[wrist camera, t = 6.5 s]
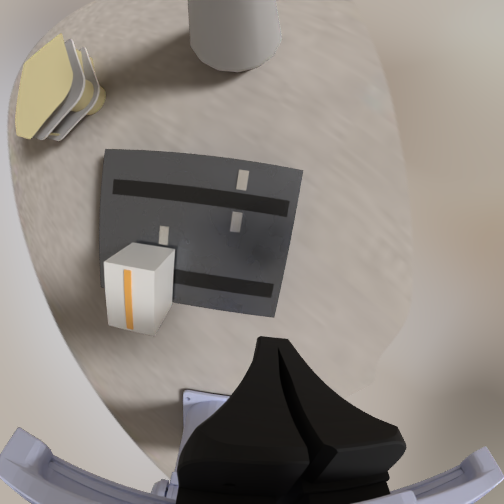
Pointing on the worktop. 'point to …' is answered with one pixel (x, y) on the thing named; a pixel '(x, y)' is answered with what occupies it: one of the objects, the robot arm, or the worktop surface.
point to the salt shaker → (234, 32)
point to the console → (203, 223)
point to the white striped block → (139, 287)
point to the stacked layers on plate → (56, 91)
